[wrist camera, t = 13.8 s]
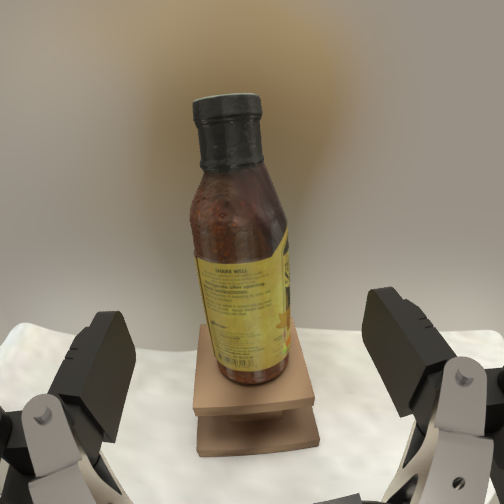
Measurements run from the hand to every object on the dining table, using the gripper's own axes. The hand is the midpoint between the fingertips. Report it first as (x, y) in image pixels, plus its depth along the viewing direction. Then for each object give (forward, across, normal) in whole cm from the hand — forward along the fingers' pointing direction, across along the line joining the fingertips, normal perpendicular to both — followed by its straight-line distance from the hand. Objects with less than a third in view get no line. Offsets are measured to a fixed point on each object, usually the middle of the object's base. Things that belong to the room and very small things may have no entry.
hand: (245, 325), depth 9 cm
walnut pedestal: (+11, 0, +20) cm, 23 cm away
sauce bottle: (+10, 0, +13) cm, 16 cm away
